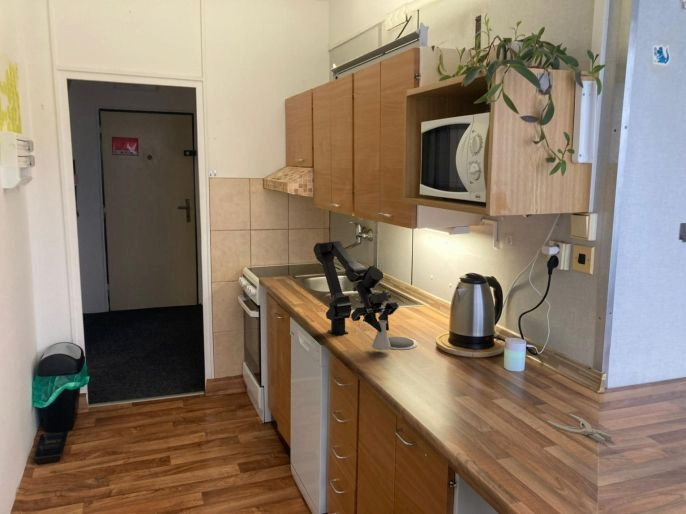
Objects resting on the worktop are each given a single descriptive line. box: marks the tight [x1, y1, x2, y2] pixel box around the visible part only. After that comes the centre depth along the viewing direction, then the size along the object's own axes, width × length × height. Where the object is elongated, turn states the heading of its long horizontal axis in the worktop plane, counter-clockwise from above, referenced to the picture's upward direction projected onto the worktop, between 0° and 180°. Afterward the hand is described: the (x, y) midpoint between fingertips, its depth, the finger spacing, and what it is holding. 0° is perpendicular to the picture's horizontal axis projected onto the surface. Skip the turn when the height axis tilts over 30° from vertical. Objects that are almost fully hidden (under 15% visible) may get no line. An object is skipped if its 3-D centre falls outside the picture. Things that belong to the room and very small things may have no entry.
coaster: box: [388, 336, 419, 351], centre depth 218 cm, size 15×15×1 cm
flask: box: [371, 319, 391, 351], centre depth 206 cm, size 7×7×10 cm
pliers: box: [547, 413, 613, 445], centre depth 149 cm, size 10×2×15 cm
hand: (384, 331), depth 205 cm, fingers closed on flask, 3 cm apart
